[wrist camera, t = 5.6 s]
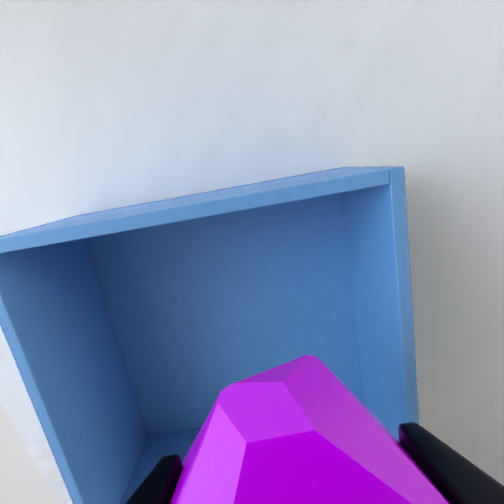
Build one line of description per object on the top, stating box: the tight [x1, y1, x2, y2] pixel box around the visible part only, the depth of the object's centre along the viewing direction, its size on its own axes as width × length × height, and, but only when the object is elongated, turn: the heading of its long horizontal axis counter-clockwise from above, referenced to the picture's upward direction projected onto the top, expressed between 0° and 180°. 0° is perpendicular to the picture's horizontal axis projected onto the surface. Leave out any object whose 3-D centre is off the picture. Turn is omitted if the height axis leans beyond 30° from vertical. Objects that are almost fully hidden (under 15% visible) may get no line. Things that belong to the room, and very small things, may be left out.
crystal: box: [170, 355, 451, 504], centre depth 7 cm, size 5×5×5 cm
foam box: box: [0, 166, 419, 504], centre depth 16 cm, size 15×15×7 cm
